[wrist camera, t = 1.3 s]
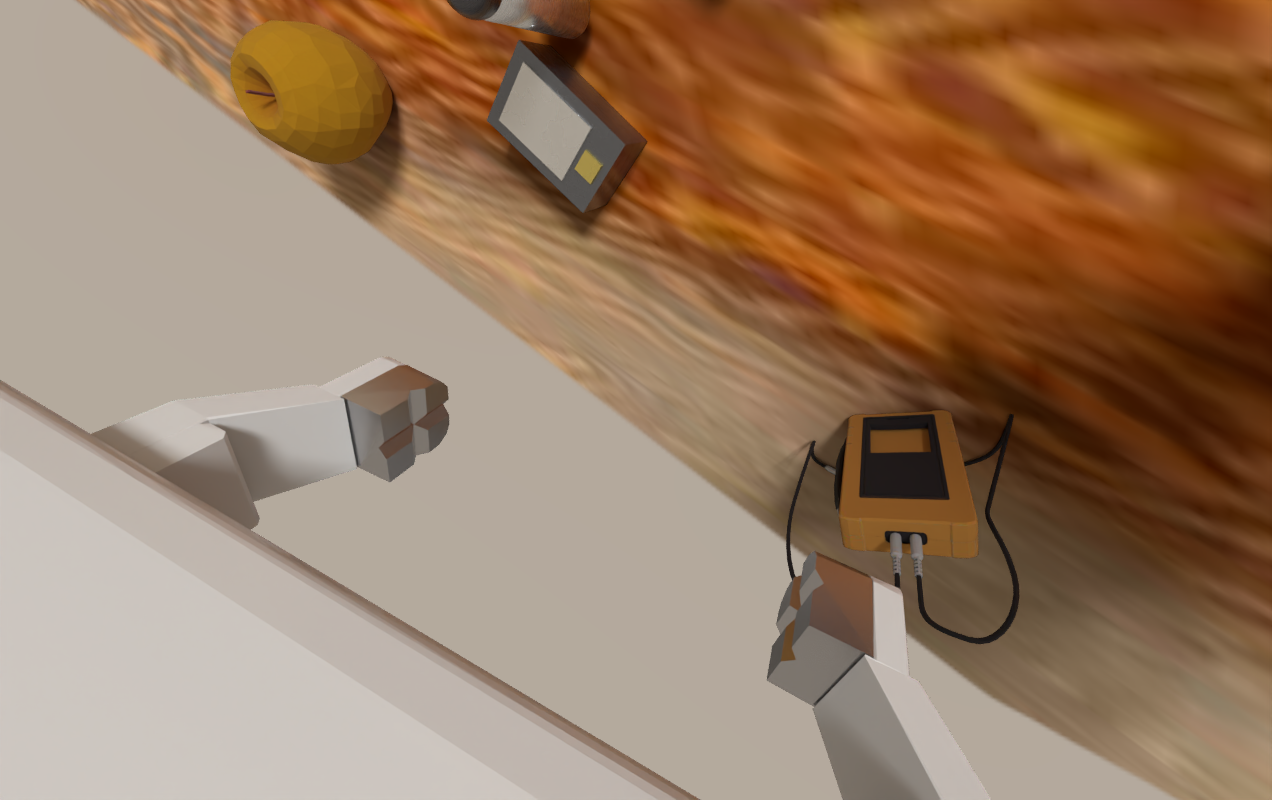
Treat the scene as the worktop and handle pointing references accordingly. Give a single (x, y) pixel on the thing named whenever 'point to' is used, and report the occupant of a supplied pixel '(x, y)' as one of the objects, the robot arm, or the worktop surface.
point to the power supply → (564, 126)
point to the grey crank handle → (530, 14)
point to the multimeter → (910, 495)
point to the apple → (311, 90)
